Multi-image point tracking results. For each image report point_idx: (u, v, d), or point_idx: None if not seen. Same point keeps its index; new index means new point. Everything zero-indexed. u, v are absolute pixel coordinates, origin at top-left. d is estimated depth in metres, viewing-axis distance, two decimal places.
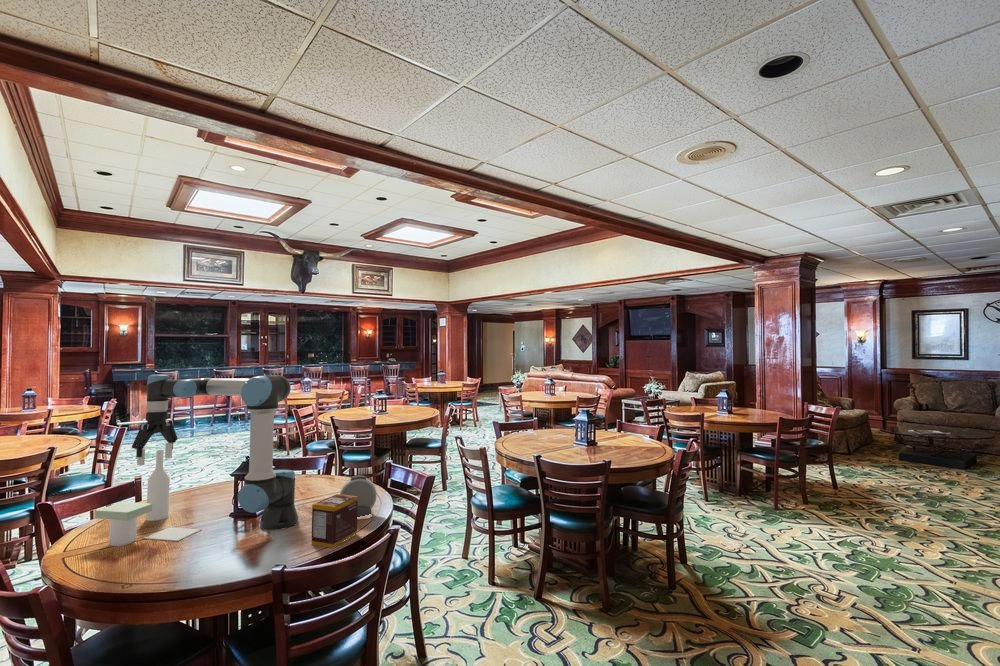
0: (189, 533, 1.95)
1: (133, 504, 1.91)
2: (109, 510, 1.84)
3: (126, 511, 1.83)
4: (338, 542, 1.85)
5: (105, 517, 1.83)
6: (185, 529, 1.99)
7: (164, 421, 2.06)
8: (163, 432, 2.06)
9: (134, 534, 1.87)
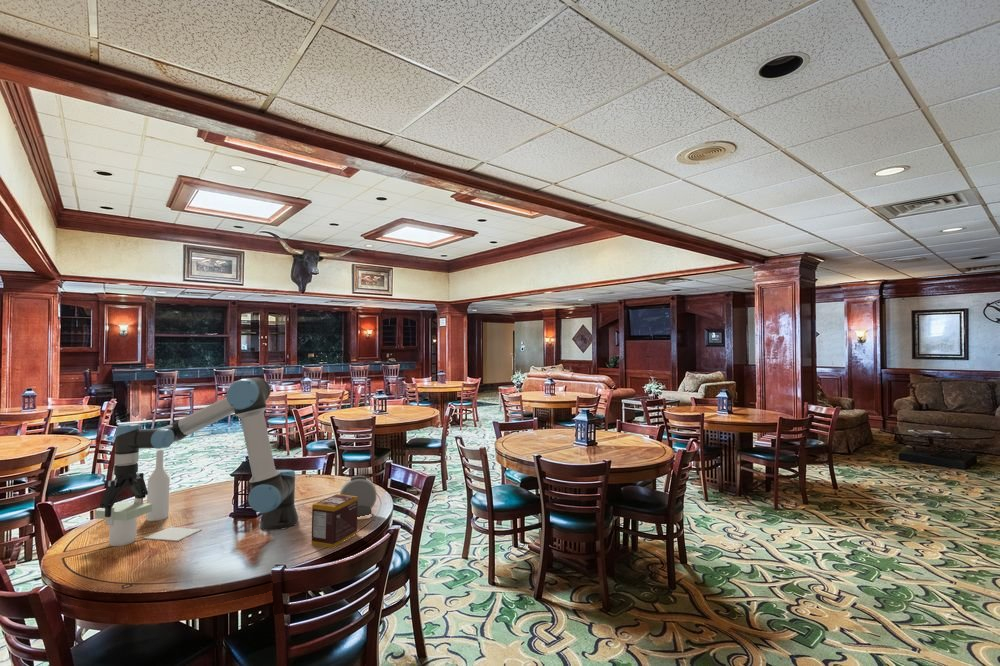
0: (189, 533, 1.95)
1: (133, 504, 1.91)
2: None
3: (126, 511, 1.83)
4: (338, 542, 1.85)
5: (105, 517, 1.83)
6: (185, 529, 1.99)
7: (134, 474, 1.92)
8: (132, 486, 1.91)
9: (135, 534, 1.87)
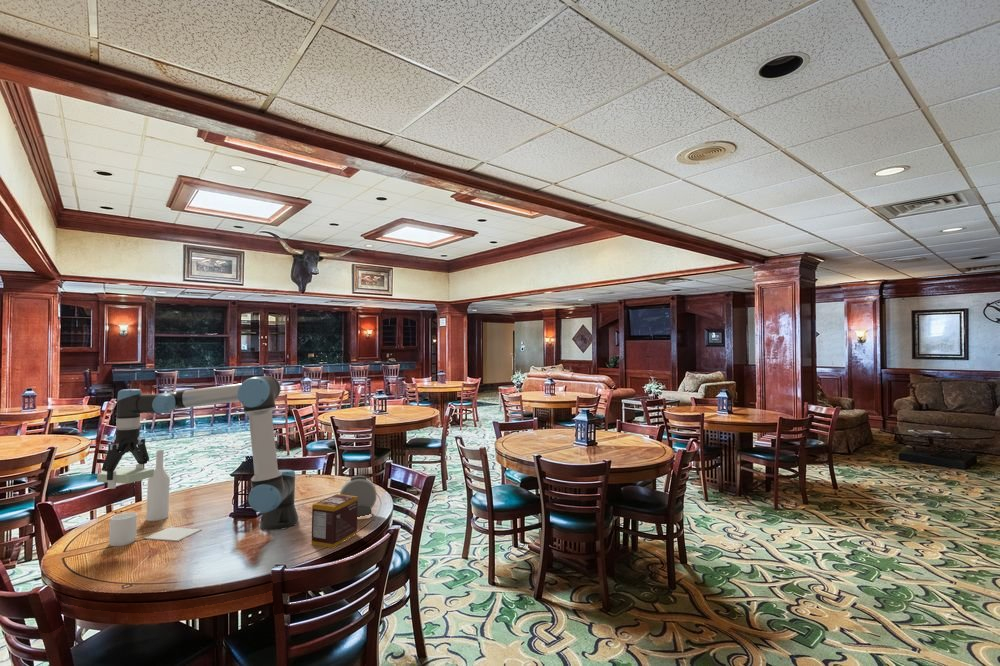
0: (189, 533, 1.95)
1: (135, 469, 1.92)
2: None
3: (128, 474, 1.84)
4: (338, 542, 1.85)
5: (107, 480, 1.84)
6: (185, 529, 1.99)
7: (136, 439, 1.92)
8: (134, 451, 1.92)
9: (135, 534, 1.87)
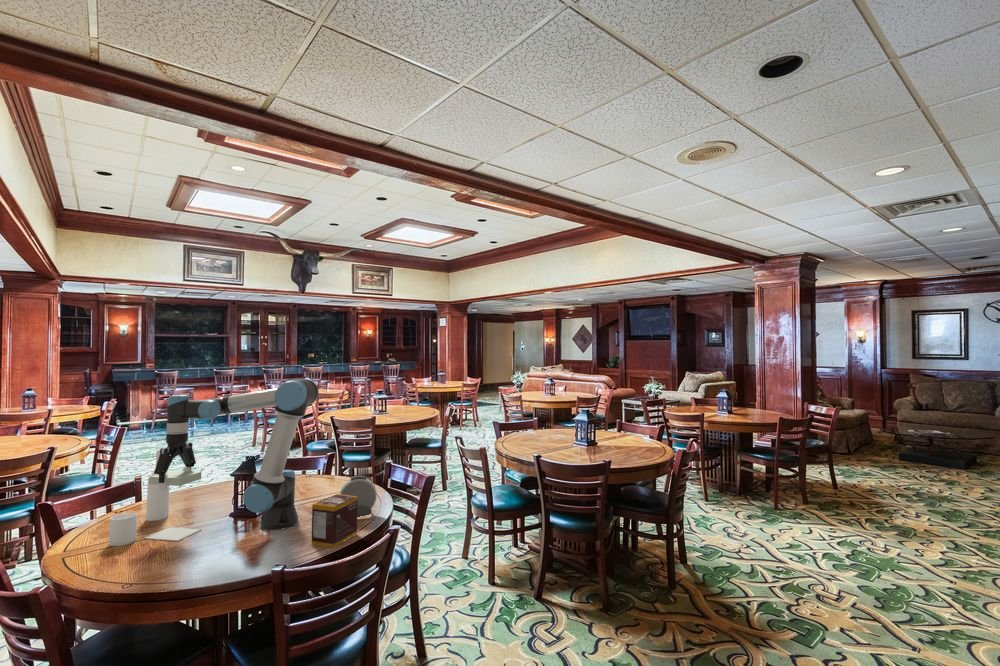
0: (189, 533, 1.95)
1: (183, 472, 1.99)
2: None
3: (178, 477, 1.90)
4: (338, 542, 1.85)
5: (158, 483, 1.90)
6: (185, 529, 1.99)
7: (184, 443, 1.99)
8: (182, 455, 1.99)
9: (135, 534, 1.87)
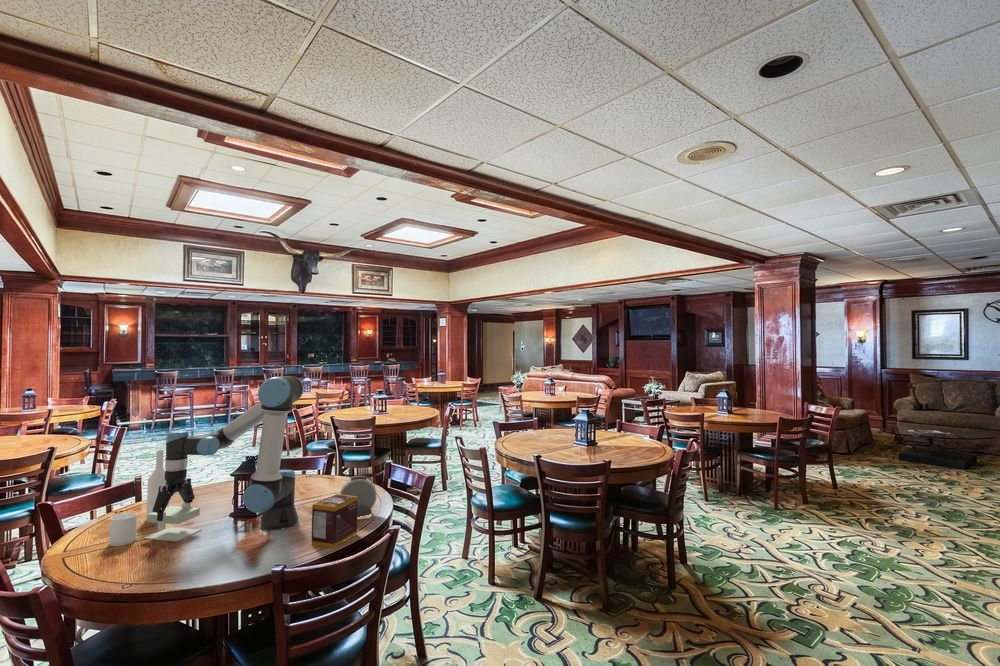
0: (189, 533, 1.95)
1: (182, 508, 1.98)
2: None
3: (177, 515, 1.90)
4: (338, 542, 1.85)
5: (157, 521, 1.90)
6: (185, 529, 1.99)
7: (183, 479, 1.98)
8: (181, 491, 1.98)
9: (135, 534, 1.87)
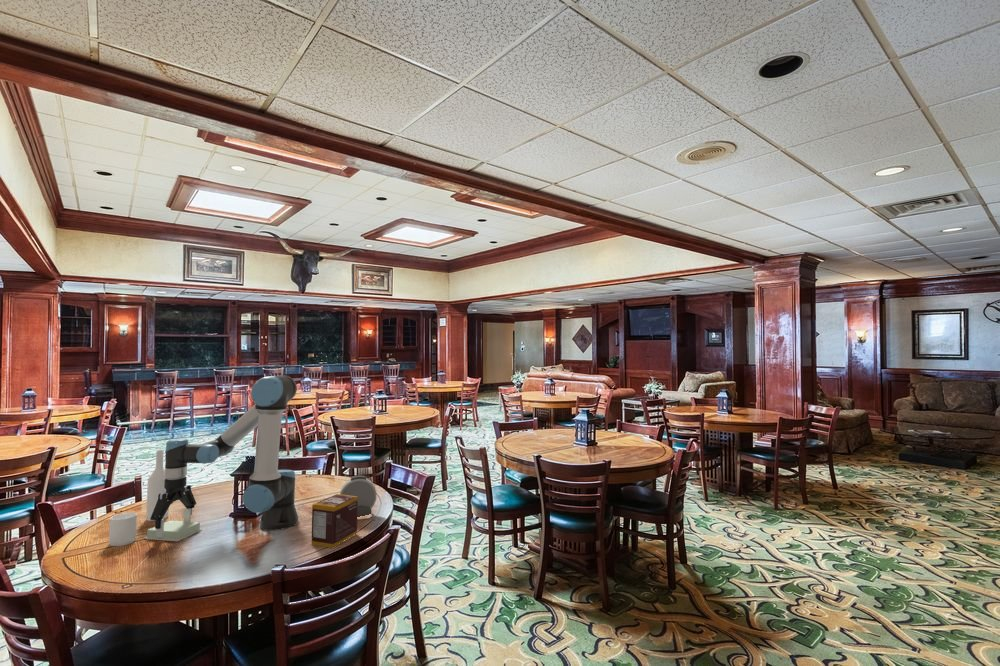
0: None
1: (181, 523, 1.98)
2: None
3: (177, 530, 1.89)
4: (338, 542, 1.85)
5: None
6: None
7: (183, 487, 1.98)
8: (182, 498, 1.98)
9: (135, 534, 1.87)
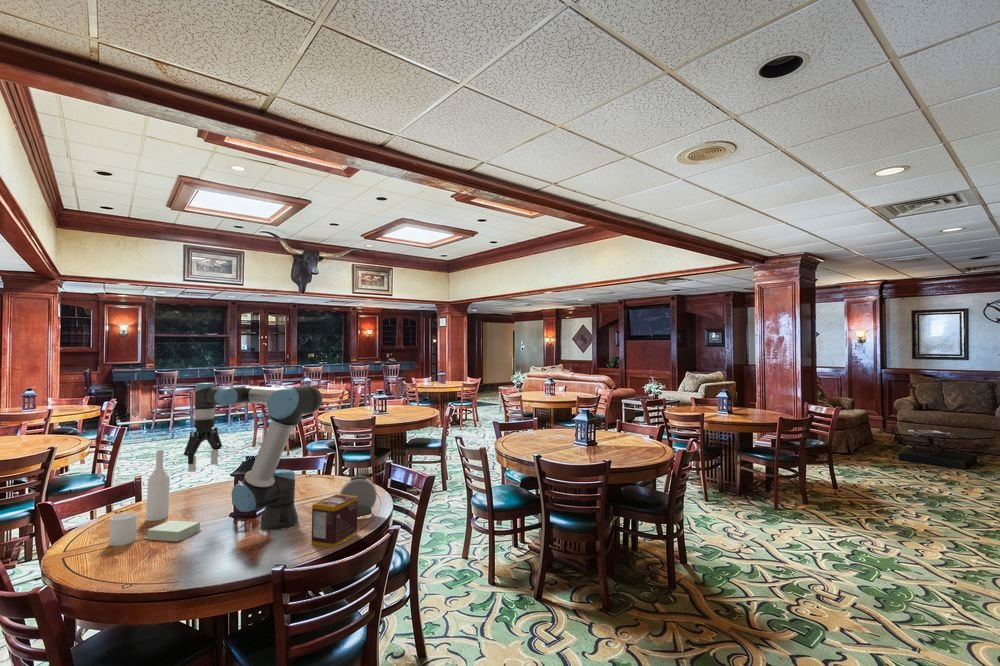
0: None
1: (181, 523, 1.98)
2: (160, 529, 1.90)
3: (177, 530, 1.89)
4: (338, 542, 1.85)
5: (157, 536, 1.89)
6: None
7: (211, 428, 2.10)
8: (210, 439, 2.11)
9: (135, 534, 1.87)
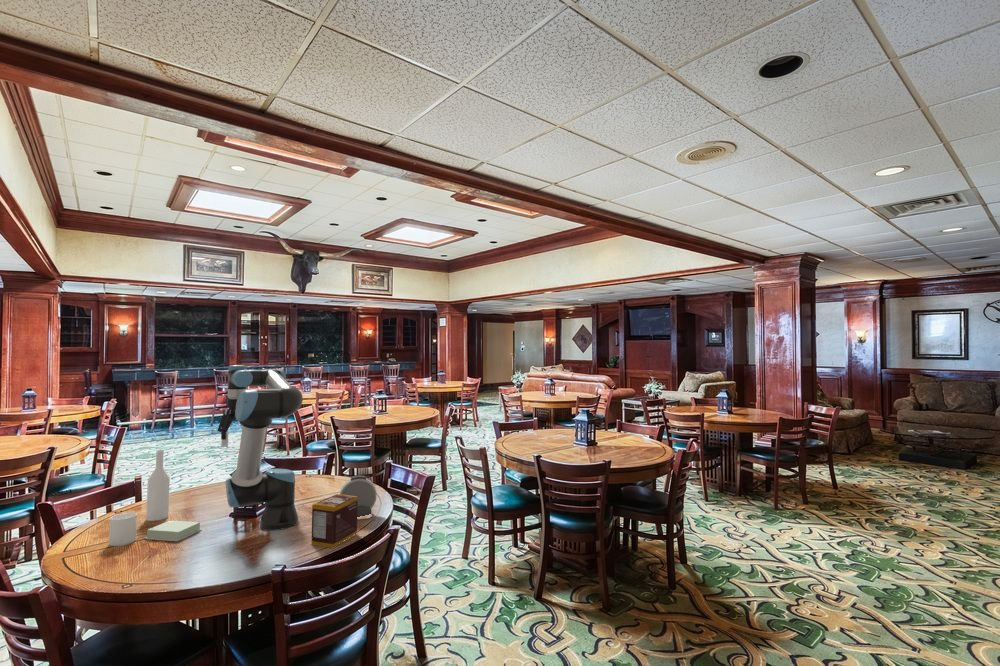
0: None
1: (181, 523, 1.98)
2: (160, 529, 1.90)
3: (177, 530, 1.89)
4: (338, 542, 1.85)
5: (157, 536, 1.89)
6: None
7: None
8: None
9: (135, 534, 1.87)
